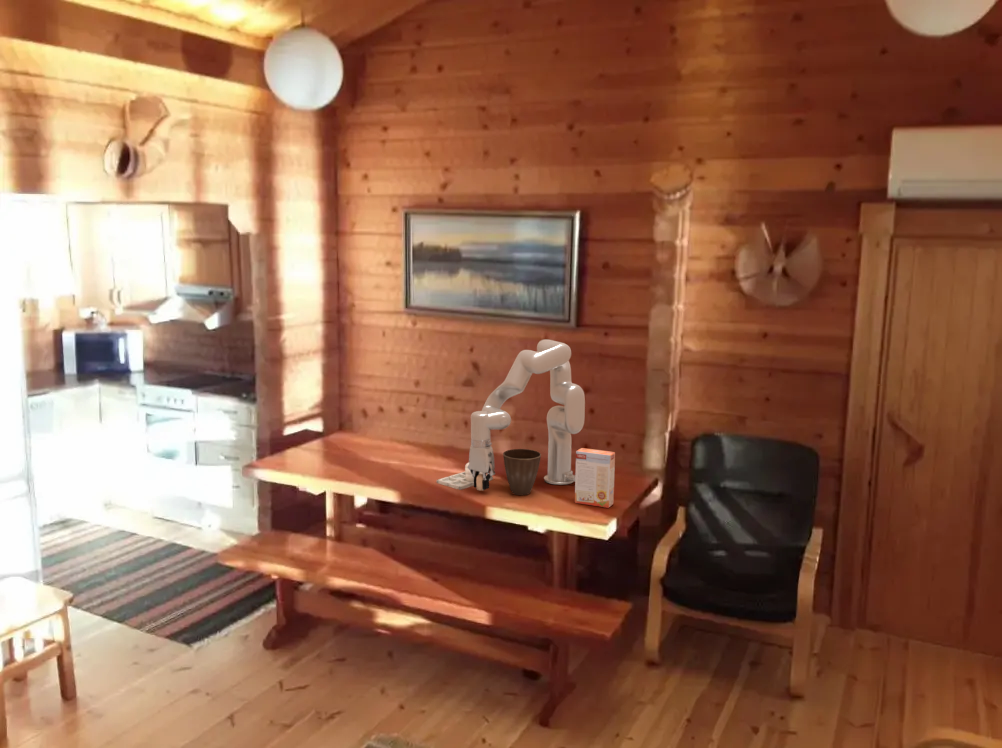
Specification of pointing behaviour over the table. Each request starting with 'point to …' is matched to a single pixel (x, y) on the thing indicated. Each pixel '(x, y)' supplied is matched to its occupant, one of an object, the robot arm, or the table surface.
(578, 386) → the robot arm
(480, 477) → the tan egg
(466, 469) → the cream egg
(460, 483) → the white egg tray
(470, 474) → the cream egg
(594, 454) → the cracker box
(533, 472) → the plant pot
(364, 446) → the table surface
